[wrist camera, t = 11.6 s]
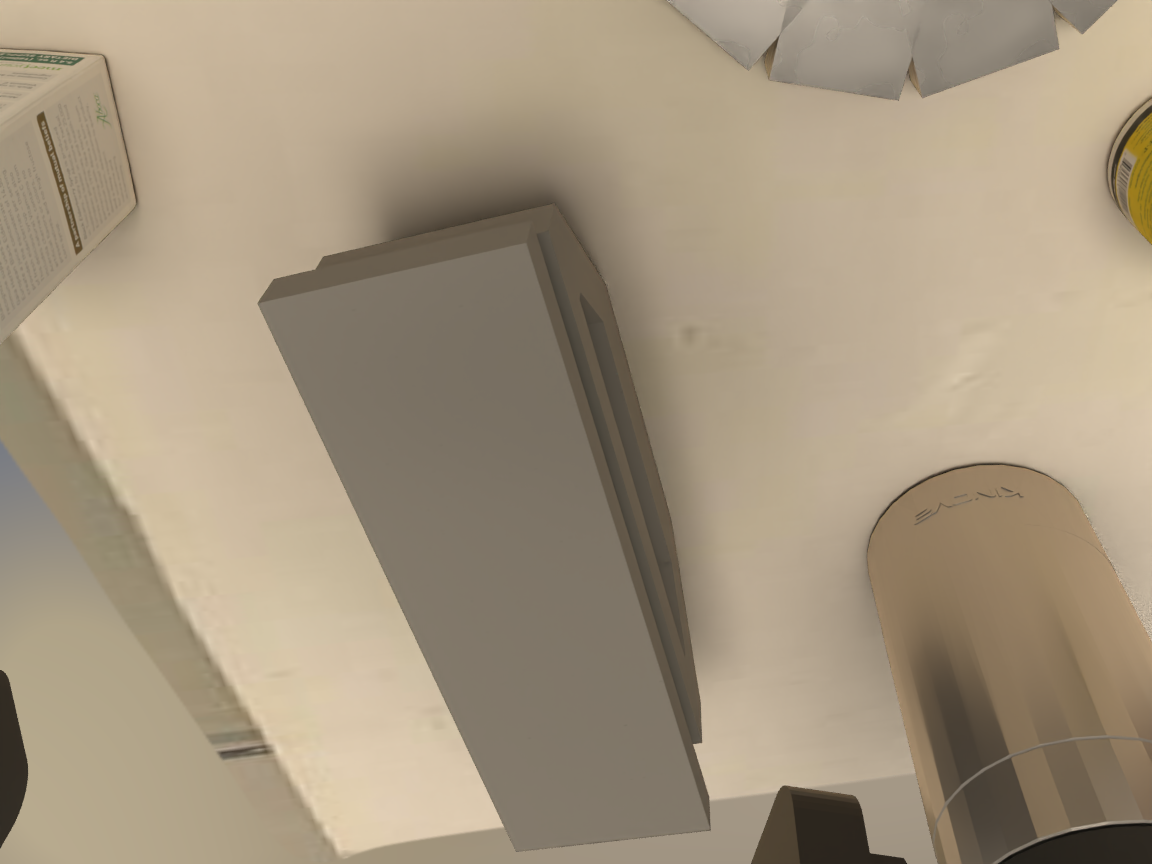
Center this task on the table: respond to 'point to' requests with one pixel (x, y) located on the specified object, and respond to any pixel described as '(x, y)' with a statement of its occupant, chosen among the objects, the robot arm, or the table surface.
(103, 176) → the syrup box
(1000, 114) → the table surface
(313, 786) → the table surface
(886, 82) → the grey segmented ring
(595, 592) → the grey angular block
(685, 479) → the table surface
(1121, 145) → the supplement bottle
